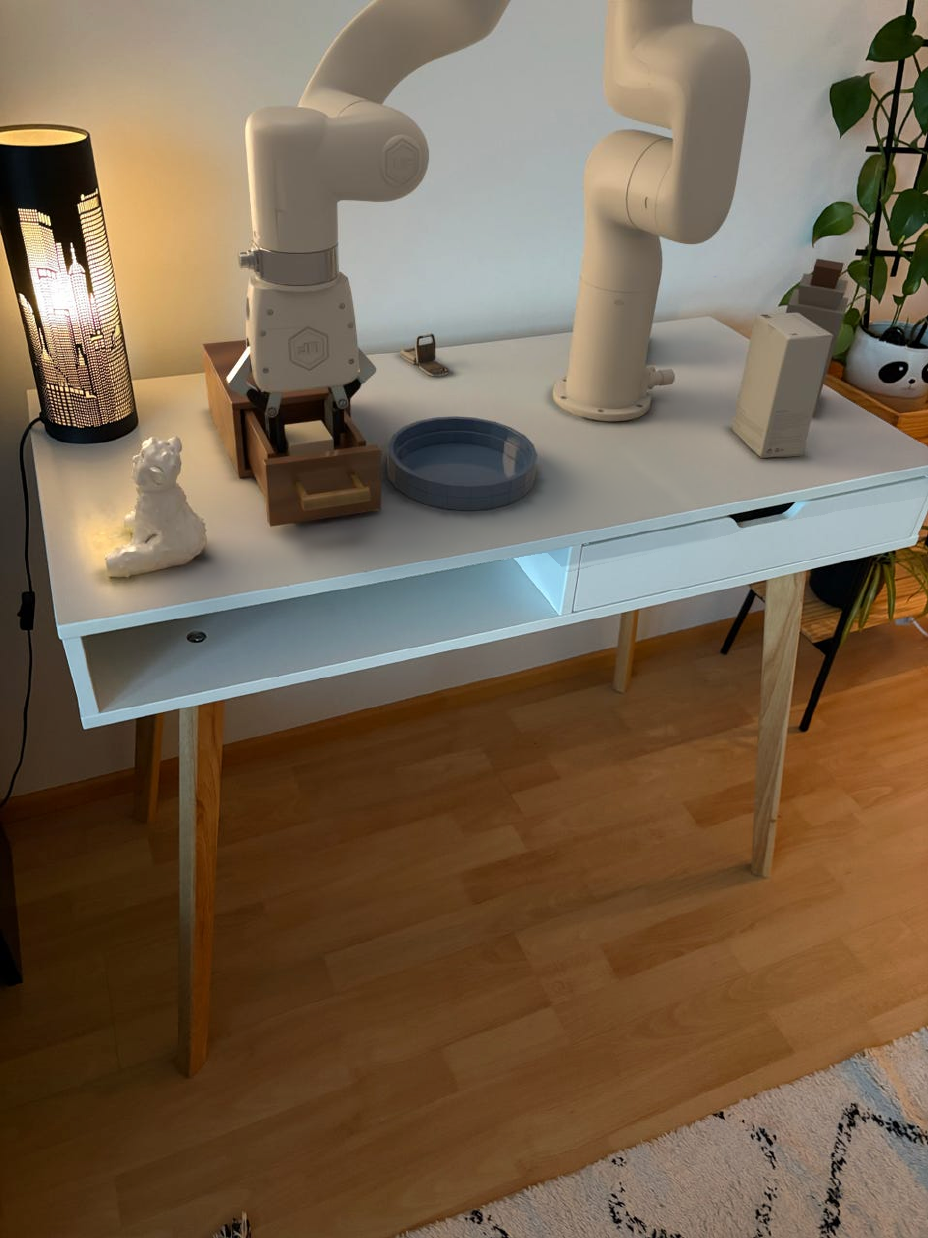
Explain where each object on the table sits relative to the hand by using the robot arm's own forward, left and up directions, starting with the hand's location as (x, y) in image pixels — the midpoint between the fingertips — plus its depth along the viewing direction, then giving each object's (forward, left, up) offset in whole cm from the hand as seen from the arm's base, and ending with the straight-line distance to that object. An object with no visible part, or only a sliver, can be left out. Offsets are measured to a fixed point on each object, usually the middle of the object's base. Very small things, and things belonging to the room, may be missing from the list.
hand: (306, 441), depth 97 cm
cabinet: (0, -13, -6) cm, 15 cm away
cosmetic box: (-56, +4, -6) cm, 56 cm away
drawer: (0, +1, -5) cm, 5 cm away
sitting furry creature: (+16, +7, -6) cm, 19 cm away
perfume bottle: (-67, -5, -6) cm, 67 cm away
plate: (-17, +1, -6) cm, 18 cm away
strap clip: (-24, -29, -6) cm, 38 cm away
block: (0, 0, -4) cm, 4 cm away
